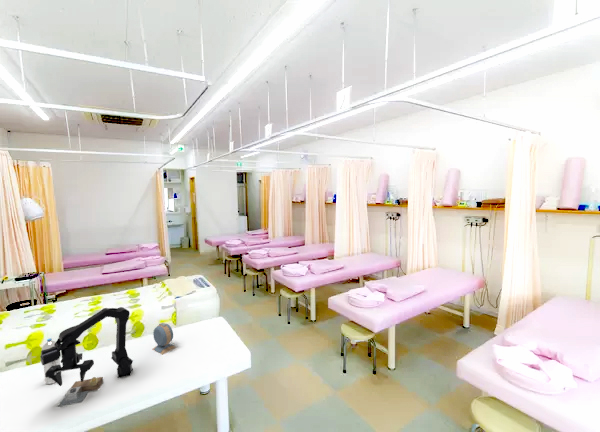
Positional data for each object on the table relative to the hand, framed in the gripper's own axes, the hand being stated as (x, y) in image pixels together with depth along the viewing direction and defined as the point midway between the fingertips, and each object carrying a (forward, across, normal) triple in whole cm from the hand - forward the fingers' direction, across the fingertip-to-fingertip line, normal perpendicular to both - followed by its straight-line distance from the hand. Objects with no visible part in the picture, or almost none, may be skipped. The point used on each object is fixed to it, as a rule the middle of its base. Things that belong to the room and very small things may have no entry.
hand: (71, 383), depth 141 cm
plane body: (+9, -3, -8) cm, 12 cm away
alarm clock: (+9, -37, -37) cm, 53 cm away
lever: (+6, -8, -5) cm, 11 cm away
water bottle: (+9, +18, -21) cm, 29 cm away
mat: (+9, 0, 0) cm, 9 cm away
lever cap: (+8, 0, 0) cm, 8 cm away
